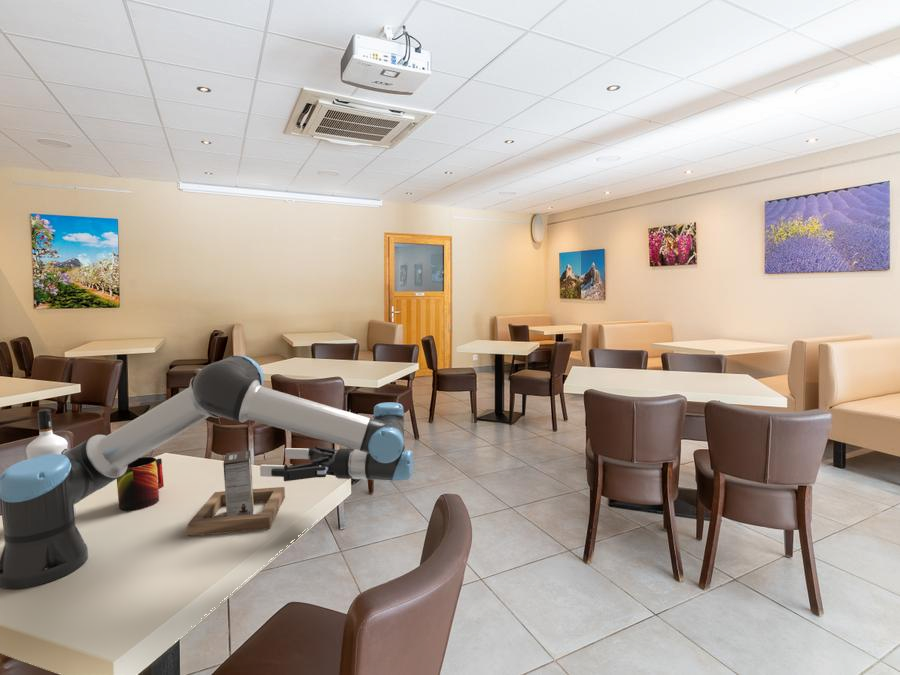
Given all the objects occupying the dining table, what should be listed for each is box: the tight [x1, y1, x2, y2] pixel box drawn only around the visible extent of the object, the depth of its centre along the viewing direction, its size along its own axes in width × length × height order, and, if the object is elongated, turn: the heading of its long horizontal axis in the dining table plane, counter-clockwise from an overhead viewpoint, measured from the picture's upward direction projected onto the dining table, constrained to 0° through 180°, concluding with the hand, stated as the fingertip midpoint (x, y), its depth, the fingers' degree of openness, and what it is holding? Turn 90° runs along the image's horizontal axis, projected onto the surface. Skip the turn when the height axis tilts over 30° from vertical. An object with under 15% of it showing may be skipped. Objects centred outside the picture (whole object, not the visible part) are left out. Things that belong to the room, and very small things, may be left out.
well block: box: [187, 486, 286, 536], centre depth 130 cm, size 20×19×3 cm
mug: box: [116, 456, 165, 512], centre depth 141 cm, size 10×14×12 cm
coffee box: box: [222, 449, 255, 516], centre depth 129 cm, size 9×6×16 cm
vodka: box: [25, 408, 77, 516], centre depth 127 cm, size 9×9×30 cm
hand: (273, 461), depth 128 cm, fingers open, 13 cm apart
